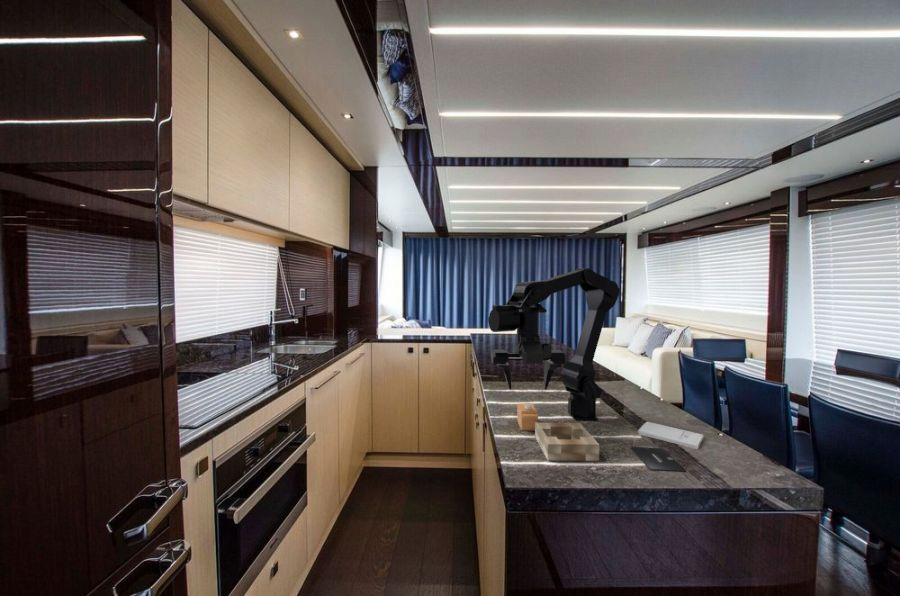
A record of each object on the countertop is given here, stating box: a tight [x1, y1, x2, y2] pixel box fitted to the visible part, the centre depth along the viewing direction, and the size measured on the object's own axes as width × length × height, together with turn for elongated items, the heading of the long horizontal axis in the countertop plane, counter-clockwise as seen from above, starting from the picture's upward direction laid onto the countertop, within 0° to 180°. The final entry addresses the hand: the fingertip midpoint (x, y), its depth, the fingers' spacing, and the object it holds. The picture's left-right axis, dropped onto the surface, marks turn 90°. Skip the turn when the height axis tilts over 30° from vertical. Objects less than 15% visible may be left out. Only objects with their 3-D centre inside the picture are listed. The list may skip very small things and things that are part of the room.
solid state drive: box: [630, 446, 687, 473], centre depth 77 cm, size 7×10×1 cm
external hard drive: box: [637, 421, 705, 450], centre depth 89 cm, size 2×8×12 cm
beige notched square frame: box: [534, 422, 600, 462], centre depth 82 cm, size 11×12×4 cm
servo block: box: [516, 402, 539, 431], centre depth 95 cm, size 4×9×6 cm, turn 179°
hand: (527, 389), depth 95 cm, fingers open, 9 cm apart
